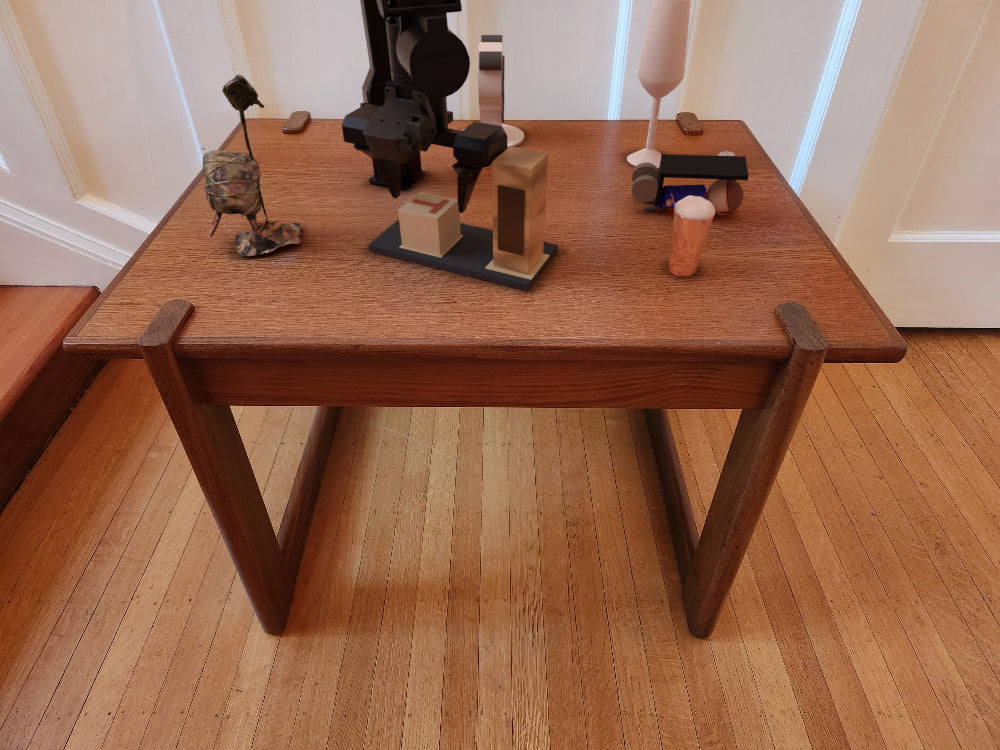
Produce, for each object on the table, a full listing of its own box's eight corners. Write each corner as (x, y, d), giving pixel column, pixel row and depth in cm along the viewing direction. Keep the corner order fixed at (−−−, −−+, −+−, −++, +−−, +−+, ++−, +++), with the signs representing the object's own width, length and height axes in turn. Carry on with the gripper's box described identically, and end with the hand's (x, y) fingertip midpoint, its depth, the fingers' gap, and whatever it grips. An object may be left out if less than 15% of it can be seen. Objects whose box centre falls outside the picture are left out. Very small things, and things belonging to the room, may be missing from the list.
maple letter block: (492, 266, 77) (491, 161, 68) (509, 248, 80) (510, 146, 72) (527, 275, 75) (530, 169, 67) (543, 256, 79) (548, 153, 70)
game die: (732, 168, 101) (737, 149, 99) (737, 178, 98) (741, 159, 96) (710, 167, 101) (714, 148, 99) (713, 177, 98) (717, 158, 96)
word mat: (369, 251, 82) (367, 243, 81) (409, 217, 89) (408, 210, 88) (527, 291, 75) (528, 283, 74) (557, 251, 82) (558, 243, 81)
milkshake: (652, 261, 80) (665, 185, 73) (694, 259, 80) (711, 183, 74) (662, 281, 76) (677, 203, 70) (705, 278, 77) (725, 201, 70)
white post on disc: (524, 151, 106) (527, 53, 96) (456, 151, 106) (451, 53, 96) (523, 125, 115) (525, 33, 105) (460, 124, 115) (456, 32, 105)
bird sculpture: (222, 230, 86) (171, 72, 73) (308, 225, 87) (273, 68, 74) (209, 262, 80) (151, 95, 67) (302, 256, 81) (263, 90, 68)
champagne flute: (677, 162, 103) (709, -10, 87) (647, 172, 100) (674, -4, 84) (648, 148, 107) (673, -18, 91) (618, 157, 104) (638, -13, 88)
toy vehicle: (630, 225, 90) (743, 224, 86) (631, 174, 85) (751, 169, 82) (631, 204, 95) (738, 201, 91) (632, 154, 90) (745, 149, 87)
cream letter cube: (402, 246, 81) (397, 208, 77) (423, 226, 84) (420, 190, 81) (440, 255, 79) (437, 217, 75) (460, 235, 83) (459, 198, 79)
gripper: (298, 78, 65) (326, 217, 76) (461, 103, 59) (467, 251, 70) (360, 50, 73) (377, 180, 83) (510, 70, 67) (508, 208, 77)
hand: (428, 204), depth 78 cm, fingers open, 9 cm apart
